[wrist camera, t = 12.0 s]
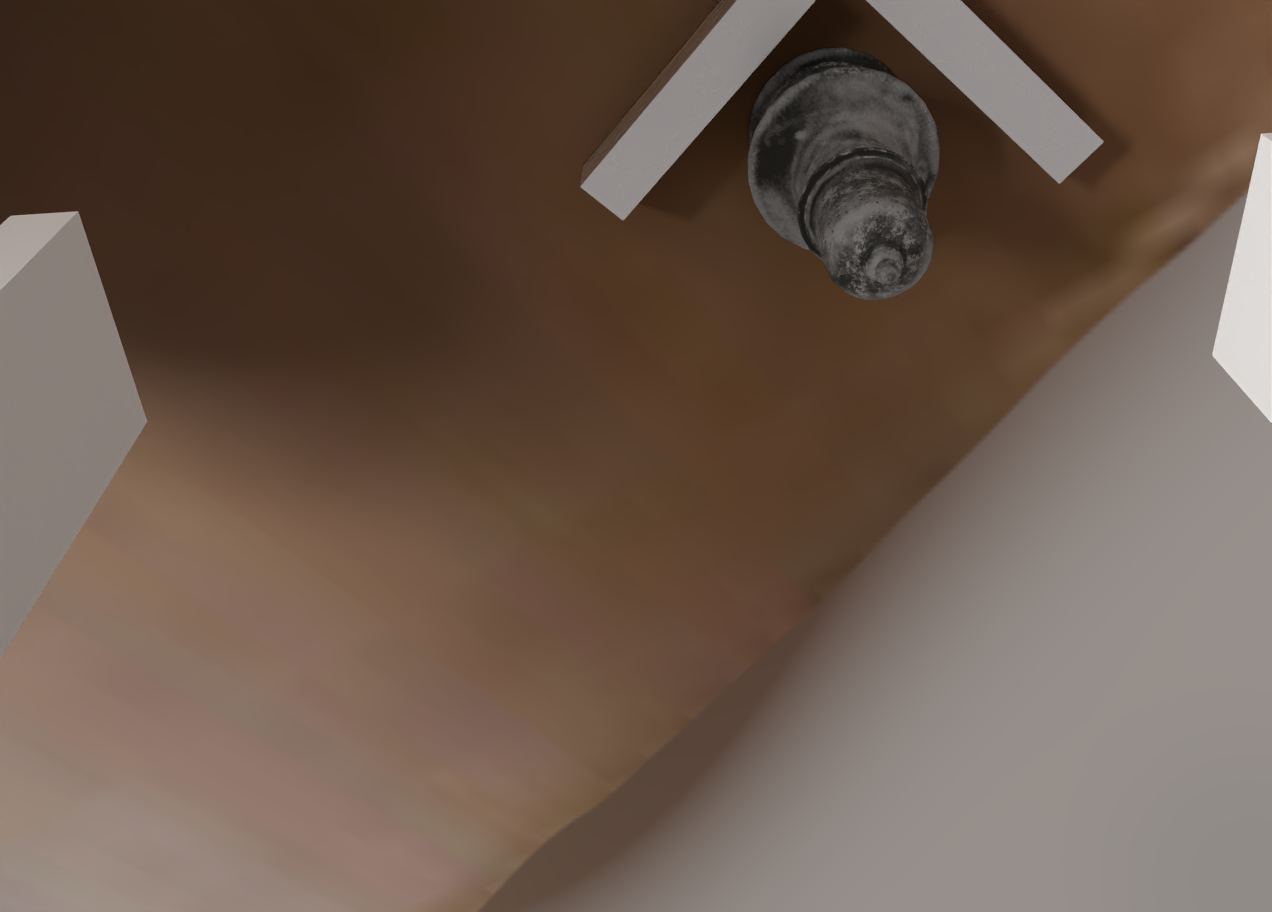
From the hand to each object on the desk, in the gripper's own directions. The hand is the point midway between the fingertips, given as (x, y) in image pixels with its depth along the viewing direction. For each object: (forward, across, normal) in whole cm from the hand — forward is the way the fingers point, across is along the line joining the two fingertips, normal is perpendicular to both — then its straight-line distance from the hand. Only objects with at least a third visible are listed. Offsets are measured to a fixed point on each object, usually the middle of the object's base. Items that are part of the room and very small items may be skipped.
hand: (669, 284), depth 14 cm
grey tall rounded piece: (+27, +6, -7) cm, 29 cm away
